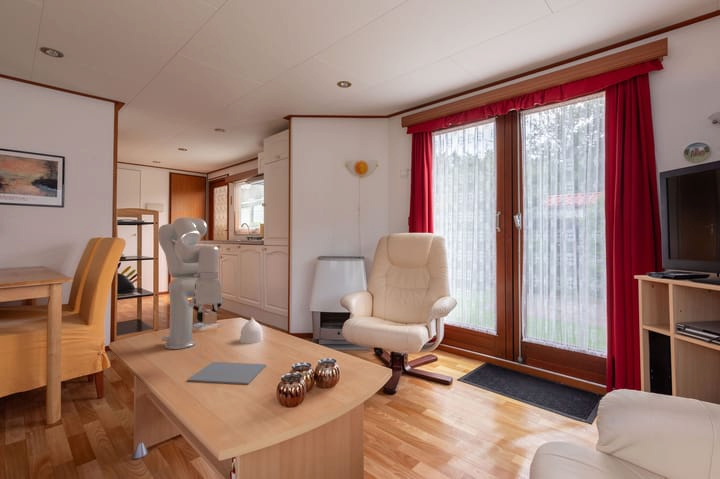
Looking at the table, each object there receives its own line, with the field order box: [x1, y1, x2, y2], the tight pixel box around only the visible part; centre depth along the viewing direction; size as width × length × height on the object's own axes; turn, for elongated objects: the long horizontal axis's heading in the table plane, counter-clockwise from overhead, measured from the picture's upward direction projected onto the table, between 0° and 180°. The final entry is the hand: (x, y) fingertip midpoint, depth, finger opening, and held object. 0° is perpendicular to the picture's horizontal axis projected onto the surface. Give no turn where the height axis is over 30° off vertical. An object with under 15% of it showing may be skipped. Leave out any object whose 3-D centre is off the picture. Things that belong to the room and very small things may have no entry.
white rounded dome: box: [239, 316, 264, 344], centre depth 169 cm, size 11×11×12 cm
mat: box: [186, 361, 267, 386], centre depth 126 cm, size 22×18×1 cm
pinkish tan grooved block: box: [200, 308, 218, 325], centre depth 138 cm, size 4×9×4 cm, turn 43°
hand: (206, 320), depth 138 cm, fingers closed on pinkish tan grooved block, 4 cm apart
